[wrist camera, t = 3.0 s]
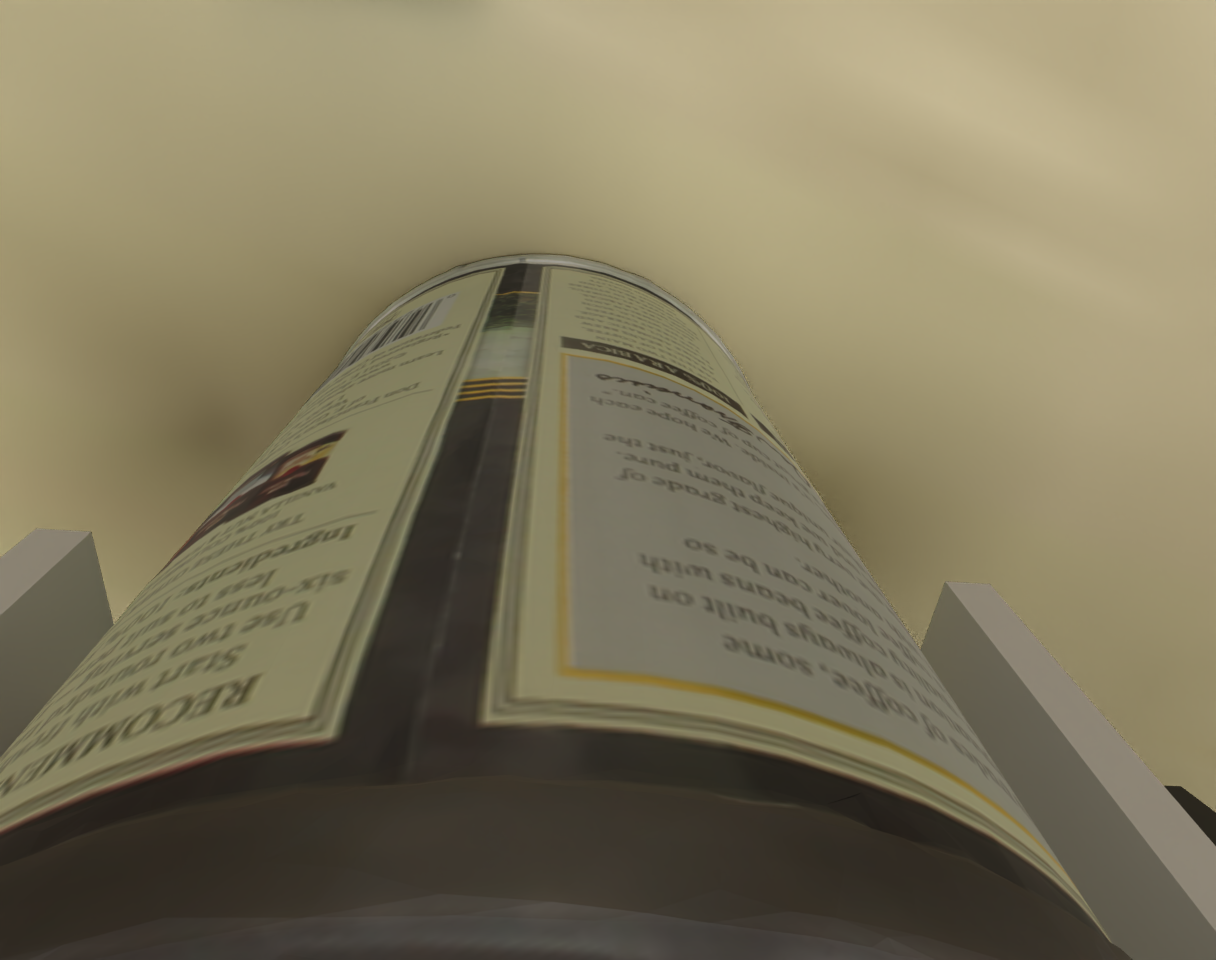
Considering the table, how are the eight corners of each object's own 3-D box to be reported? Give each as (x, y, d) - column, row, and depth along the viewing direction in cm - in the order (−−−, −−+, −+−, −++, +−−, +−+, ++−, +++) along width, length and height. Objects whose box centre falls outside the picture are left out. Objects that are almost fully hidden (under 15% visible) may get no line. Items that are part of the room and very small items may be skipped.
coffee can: (629, 706, 21) (721, 1643, 8) (257, 557, 18) (-459, 1597, 6) (858, 392, 17) (1706, 1236, 4) (429, 147, 14) (-600, 471, 2)
